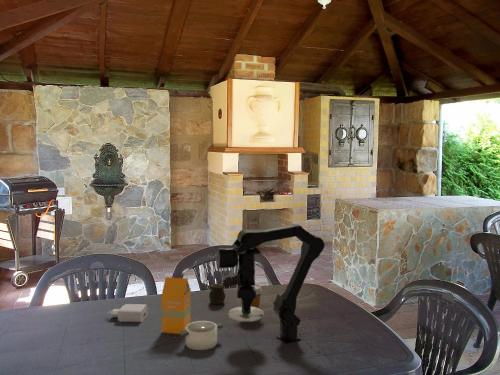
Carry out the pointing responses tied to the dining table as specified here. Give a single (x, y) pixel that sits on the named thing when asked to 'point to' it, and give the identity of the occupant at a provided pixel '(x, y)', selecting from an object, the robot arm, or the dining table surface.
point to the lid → (246, 314)
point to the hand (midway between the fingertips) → (246, 310)
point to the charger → (130, 313)
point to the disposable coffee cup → (256, 300)
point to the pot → (201, 335)
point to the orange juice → (176, 305)
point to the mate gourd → (217, 294)
